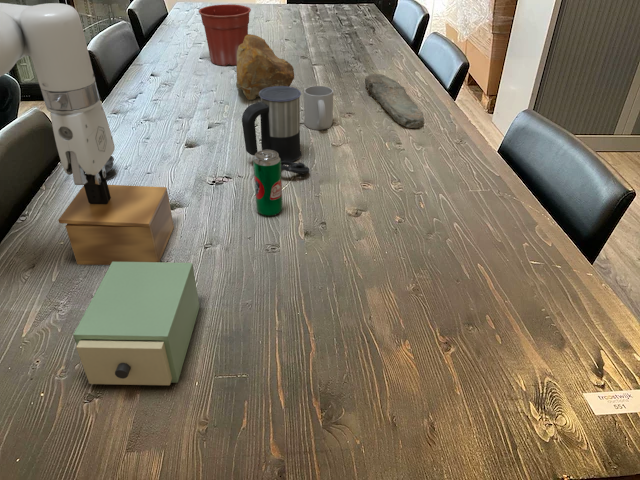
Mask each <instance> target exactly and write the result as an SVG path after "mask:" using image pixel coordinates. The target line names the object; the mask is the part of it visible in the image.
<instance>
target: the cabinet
mask: <svg viewBox="0 0 640 480" xmlns="http://www.w3.org/2000/svg"><path fill="white" fill-rule="evenodd" d="M195 276H196V275H195V270H194V263H193V262H171V261H170V262H165V261H164V262H163V261H162V262H161V261H160V262H112V263H111V265H109V267H108V269H107V271H106V273H105V275H104V276H103V278H102V280H101V282H100V284H99V286H98V287H97V289H96V291H95V293H94V295H93V297H92V299H91V300H90V301H89V304H88V306H87V308H86V310H85V312H84V313H83V315H82V317H81V319H80V321H79V323H78V325H77V326H76V329H75V330H74V333H73V334H72V335H73V338H74V342H75V345H76V346H77V345H78V343H79V341H80V340H92V339H101V340H161V341H163V342H164V345H165V349H166V354H167V358H168V363H169V367H170V371H171V376H172V380H171V383H176V384H177V383H179V381H180V378H181V377H180V376H181V373H182V369H183V367H184V363H185V359H186V355H187V352H188V348H189V345H190V342H191V338H192V334H193V331H194V327H195V325H196V321H197V317H198V315H199V310H200V306H201V305H200V300H199V295H198V294H199V293H198V288H197V283H196V277H195Z"/></svg>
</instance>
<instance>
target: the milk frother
mask: <svg viewBox="0 0 640 480" xmlns="http://www.w3.org/2000/svg"><path fill="white" fill-rule="evenodd" d="M301 95H302V92H301V90H300V89H298V88H296V87H292V86H289V87H288V86H273V87H268V88H265V89H262V90H261V91H260V92H259V96H260V97H259V96H258V97H259V98H260V101H258V102H254V103H251V104H250V105H248V106H247V107H246V108H245V110H244V111H243V113H242V116H241V125H242V131H243V140H244V145H245V152H247V154H249V155H251V156H255V154H256V153H257V152H258V151H259V150H258V140H257V131H256V120H257V118H258V117H260V134H261V136H260V137H261V138H260V139H261V140H260V141H261V142H260V144H261V145H260V146H261V150H274V151H276V152H277V153H278V154H279V157H280V159H281V170H283V171H286V172H290V173H294V174H297V175H299V176H303V175H304V174H308V173H310V168H309V166H308V165H305V163H304V162H301V161H299V162H295V161H297V160H299V159H300V158H301V157H302V155H303V153H302V150H301V130H300V129H301V105H300V104H301V102H300V101H301Z"/></svg>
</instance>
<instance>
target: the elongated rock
mask: <svg viewBox="0 0 640 480" xmlns="http://www.w3.org/2000/svg"><path fill="white" fill-rule="evenodd" d="M364 84H365V87H366V88H367V89H368V91H369V92H370V97H373V98H374V99H375V100H376V101H377V102H378V103H379V104H380V105H381V106H382V108H383V109H384V111H386V112H387V113H388V114H389V115H390V116H391V118H393V120H394V121H395V122H397V124H400V125H401V126H403V127H404V128H409V129H419V128H421V127H423V125H424V122H425V118H424V112H423V111H422V110H421V109H420V108H419V107H418V105H417V104H416V103H415V101H413V99H412V98H411V96H410V95H409V94H408V93H407V91H406V88H405V86H403V85H401V84H399V82H397V81H396V80H395V79H392V78H390V77H388V76H387V75H385V74H382V73H370V74H369V75H366V76H365V78H364Z"/></svg>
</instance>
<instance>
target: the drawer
mask: <svg viewBox="0 0 640 480" xmlns="http://www.w3.org/2000/svg"><path fill="white" fill-rule="evenodd" d="M75 348H76V350H77V353H78V356H79V359H80V362H81V364H82V367H83V370H84V373H85V376H86V378H87V381H88V384H90V385H120V386H121V385H122V386H123V385H127V386H129V385H131V386H170V385H171V383H172V382H171V380H172V376H171V371H170V367H169V363H168V358H167V354H166V349H165V345H164V342H163V341H161V340H101V339H92V340H80V341H79V343H78V345H77V344H76V346H75Z"/></svg>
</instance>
